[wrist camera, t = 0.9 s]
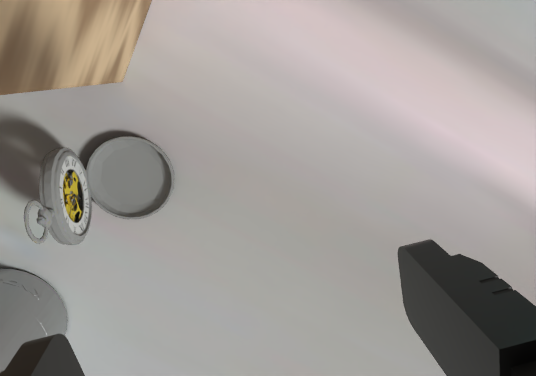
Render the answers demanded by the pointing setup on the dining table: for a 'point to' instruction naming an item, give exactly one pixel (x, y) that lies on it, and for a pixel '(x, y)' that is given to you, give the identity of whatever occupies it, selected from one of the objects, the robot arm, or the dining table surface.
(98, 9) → the oak block
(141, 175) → the pocket watch
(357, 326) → the dining table surface
